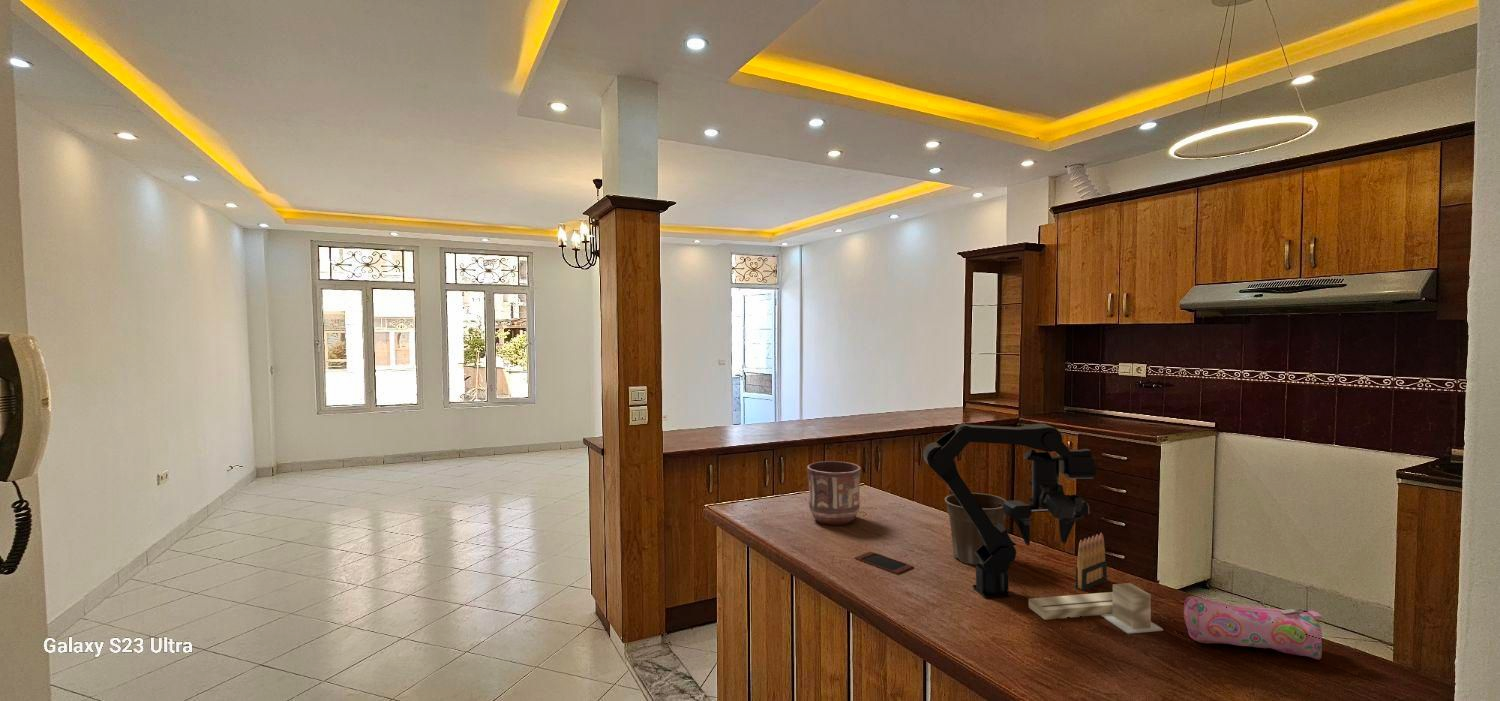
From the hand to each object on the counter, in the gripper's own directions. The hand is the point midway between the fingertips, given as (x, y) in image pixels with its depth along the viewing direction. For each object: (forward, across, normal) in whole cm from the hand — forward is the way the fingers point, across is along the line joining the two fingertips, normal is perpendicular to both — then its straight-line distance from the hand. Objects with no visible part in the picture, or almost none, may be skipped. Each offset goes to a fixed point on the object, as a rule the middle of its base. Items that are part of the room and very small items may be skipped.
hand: (1045, 543), depth 148 cm
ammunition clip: (+12, +14, +3) cm, 19 cm away
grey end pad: (+12, +9, -16) cm, 22 cm away
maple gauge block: (+12, +9, -16) cm, 22 cm away
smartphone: (+13, -31, +25) cm, 42 cm away
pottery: (+12, -34, +64) cm, 73 cm away
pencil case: (+12, +24, -29) cm, 40 cm away
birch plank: (+12, +3, -9) cm, 15 cm away
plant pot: (+12, -5, +24) cm, 27 cm away
